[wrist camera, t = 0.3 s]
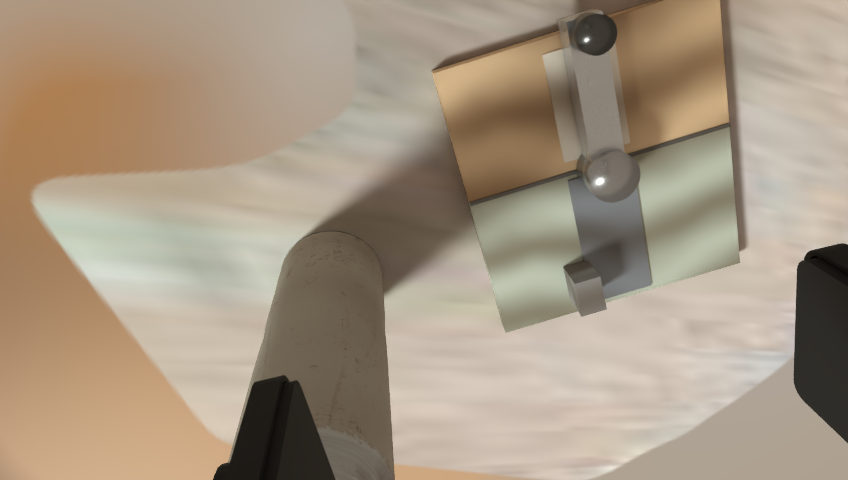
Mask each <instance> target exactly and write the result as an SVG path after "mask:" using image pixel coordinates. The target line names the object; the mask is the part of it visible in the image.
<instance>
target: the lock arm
mask: <svg viewBox="0 0 848 480" xmlns="http://www.w3.org/2000/svg"><path fill="white" fill-rule="evenodd" d="M557 23H558V28H559V33H560V39H561V44H562V49H563V55H564V60H565V66H566V71H567V76H568V82H569V87H570V92H571V98H572V103H573V108H574V114H575V119H576V125H577V130H578V135H579V141H580V146H581V151H582V153H581V155H580V157H579V159H578V161H577V165H576V173H577V176H578V179H579V180H580V182H581V183H582V184H583V185H584V186H585V187H586V188H587V189H588V190H589V191H590V192H592V193H593V194H594V195H595V196H596V197H597V198H598V199H599V200H601V201H604V202H608V203H614V202H619V201H622V200H624V199H626V198H627V197H629V196H630V195H631V194H632V193H633V192H634V191H635V189H636V188H637V186H638V184H639V181H640V175H641V173H640V167H639V165H638V163H637V161H636V160H635V159H634V158H633V157H631V156H630V155H628V154H627V153H625V151H624V145H623V138H622V132H621V125H620V119H619V112H618V106H617V99H616V93H615V86H614V80H613V74H612V67H611V61H610V54H609V50H610V49H611V48H612V47H613V45H614V44H615V41H616V38H617V27H616V24H615V22H614V21H613V20H612V19H611V18H610V17H609V16H606V15H603V11H602V10H596V9H590V10H586V11H583V12H580V13H577V14H574V15H571V16H568V17H564V18H561V19H558V20H557Z"/></svg>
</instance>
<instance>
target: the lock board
mask: <svg viewBox="0 0 848 480" xmlns="http://www.w3.org/2000/svg"><path fill="white" fill-rule="evenodd" d="M607 16H609V17H610V18H611V19H612V20H613V21H614V22H615V24H616V27H617V38H616V41H615V44H614V45H613V47H612V48H611V49H610V50H609V54H610V61H611V67H612V74H613V80H614V86H615V93H616V99H617V106H618V112H619V119H620V125H621V132H622V138H623V145H624V151H625V153H627V154H628V155H630V156H631V157H633V158H634V159H635V160H636V161H637V163H638V165H639V167H640V173H641V175H640V181H639V184H638V186H637V188H636V189H635V191H634V192H633V193H632V194H631V195H630V196H629V197H627V198H626V199H624V200H622V201H619V202H614V203H608V202H604V201H601V200H599V199H598V198H597V197H596V196H595V195H594V194H593V193H592V192H590V191H589V190H588V189H587V188H586V187H585V186H584V185H583V184H582V183H581V182H580V180H579V179H578V176H577V173H576V165H577V161H578V159H579V157H580V155H581V153H582V151H581V146H580V141H579V135H578V130H577V125H576V119H575V114H574V108H573V103H572V98H571V92H570V87H569V82H568V76H567V71H566V66H565V60H564V55H563V49H562V44H561V39H560V33H559V31H556V32H553V33H550V34H547V35H544V36H540V37H537V38H534V39H531V40H528V41H525V42H521V43H518V44H515V45H512V46H509V47H506V48H502V49H499V50H496V51H493V52H490V53H486V54H483V55H480V56H477V57H474V58H471V59H467V60H464V61H461V62H458V63H455V64H452V65H448V66H445V67H442V68H439V69H436V70H433V71H432V74H433V78H434V81H435V85H436V88H437V92H438V95H439V99H440V103H441V106H442V110H443V113H444V117H445V120H446V124H447V128H448V131H449V135H450V138H451V142H452V146H453V149H454V153H455V156H456V160H457V163H458V167H459V171H460V174H461V178H462V181H463V185H464V188H465V192H466V196H467V199H468V203H469V206H470V210H471V213H472V217H473V221H474V224H475V228H476V231H477V235H478V238H479V242H480V246H481V249H482V253H483V256H484V260H485V263H486V267H487V271H488V274H489V278H490V281H491V285H492V288H493V292H494V296H495V299H496V303H497V306H498V310H499V313H500V317H501V321H502V324H503V327H504V330H505V332H510V331H513V330H516V329H520V328H523V327H526V326H530V325H533V324H536V323H540V322H543V321H546V320H550V319H553V318H557V317H560V316H563V315H567V314H570V313H573V312H577V311H578V312H579V313H580V315H581V316H585V315H589V314H592V313H596V312H599V311H602V310H606V309H607V308H606V303H607V302H610V301H613V300H617V299H620V298H624V297H627V296H630V295H634V294H637V293H640V292H644V291H647V290H650V289H654V288H657V287H660V286H664V285H667V284H670V283H674V282H677V281H680V280H684V279H687V278H691V277H694V276H697V275H701V274H704V273H707V272H711V271H714V270H717V269H721V268H724V267H727V266H731V265H734V264H737V263H740V257H739V244H738V231H737V218H736V205H735V192H734V179H733V166H732V153H731V140H730V123H729V114H728V101H727V88H726V75H725V62H724V49H723V36H722V23H721V10H720V0H654V1H651V2H648V3H645V4H642V5H639V6H635V7H632V8H629V9H626V10H623V11H620V12H616V13H613V14H610V15H607Z"/></svg>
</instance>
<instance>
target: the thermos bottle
mask: <svg viewBox="0 0 848 480" xmlns="http://www.w3.org/2000/svg"><path fill="white" fill-rule="evenodd" d="M282 375H285V376H286V377H287V378H288V379H289V382H291V381H295V380H297V381H298V382H299V383H300V385H301V387H302V390H303V393H304V395H305V398H306V401H307V404H308V406H309V409H310V412H311V414H312V417H313V420H314V422H315V425H316V428H317V431H318V433H319V436H320V439H321V441H322V444H323V447H324V449H325V452H326V455H327V458H328V460H329V463H330V466H331V468H332V471H333V474H334V476H335V479H336V480H395V475H394V458H393V442H392V426H391V409H390V393H389V377H388V360H387V346H386V336H385V311H384V295H383V278H382V268H381V265H380V262H379V260H378V258H377V256H376V254H375V253H374V251H373V250H372V249H371V248H370V247H369V246H368V245H367V244H366V243H364V242H363V241H362V240H360V239H358V238H356V237H354V236H352V235H349V234H346V233H343V232H334V231H329V232H320V233H316V234H312V235H310V236H308V237H306V238H304V239H302V240H301V241H299V242H298V243H297V244H295V245H294V246H293V248H292V249H291V250H290V251H289V252H288V254H287V256H286V257H285V259H284V262H283V265H282V269H281V272H280V276H279V279H278V283H277V287H276V291H275V295H274V298H273V301H272V305H271V309H270V312H269V316H268V319H267V323H266V328H265V334H264V338H263V342H262V345H261V348H260V351H259V354H258V357H257V360H256V364H255V367H254V370H253V374H252V378H251V381H250V385H249V388H248V392H247V396H246V399H245V403H244V407H243V410H242V414H241V417H240V421H239V425H238V428H237V432H236V436H235V439H234V443H233V446H232V450H231V454H230V457H229V461H228V463H229V462H230V460H231V457H232V453H233V450H234V447H235V443H236V440H237V436H238V433H239V429H240V426H241V422H242V419H243V415H244V412H245V409H246V405H247V402H248V398H249V395H250V391H251V388H252V385H253V383H254V382H256V381H260V380H265V379H269V378H273V377H277V376H282Z"/></svg>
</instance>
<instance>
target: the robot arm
mask: <svg viewBox="0 0 848 480" xmlns="http://www.w3.org/2000/svg"><path fill="white" fill-rule="evenodd" d="M794 384H795V388H796V390H797V392H798V394H799V396H800V397H801V398H802V399H803V400H804V402H805V403H806V404H808V406H810V407H811V408H812V409H813V410H814V411H815V412H816V413H817V414H818V415H819V416H820V417H821V418H822V419H823V420H824V421H825V422H826V423H827V424H828V425H829V426H831V428H833V429H834V430H835V431H836V432H837V433H838V434H839V435H840V436H841V437H842V438H843V439H844V440H845V441H846V442H847V443H848V245H847V244H837V245H832V246H828V247H824V248H820V249H815V250H811V251H809V252H808V253H807V254H806V256H805V258H804V261H801V262H800V263H799V265H798V268H797V290H796V321H795V353H794ZM213 480H336V479H335V476H334V474H333V471H332V468H331V466H330V463H329V460H328V458H327V455H326V452H325V449H324V447H323V444H322V441H321V439H320V436H319V433H318V431H317V428H316V425H315V422H314V420H313V417H312V414H311V412H310V409H309V406H308V404H307V401H306V398H305V395H304V393H303V390H302V387H301V385H300V383H299V382H298V381H297V380H295V381H291V382H289V379H288V378H287V377H286V376H285V375H282V376H277V377H273V378H269V379H265V380H260V381H256V382H254V383H253V385H252V388H251V391H250V395H249V398H248V402H247V405H246V409H245V412H244V415H243V419H242V422H241V426H240V429H239V433H238V436H237V440H236V443H235V447H234V450H233V453H232V457H231V460H230V462H229V463H225V464H222V465H220V466H219V467H218V469H217V471H216V473H215V475H214V479H213Z"/></svg>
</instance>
